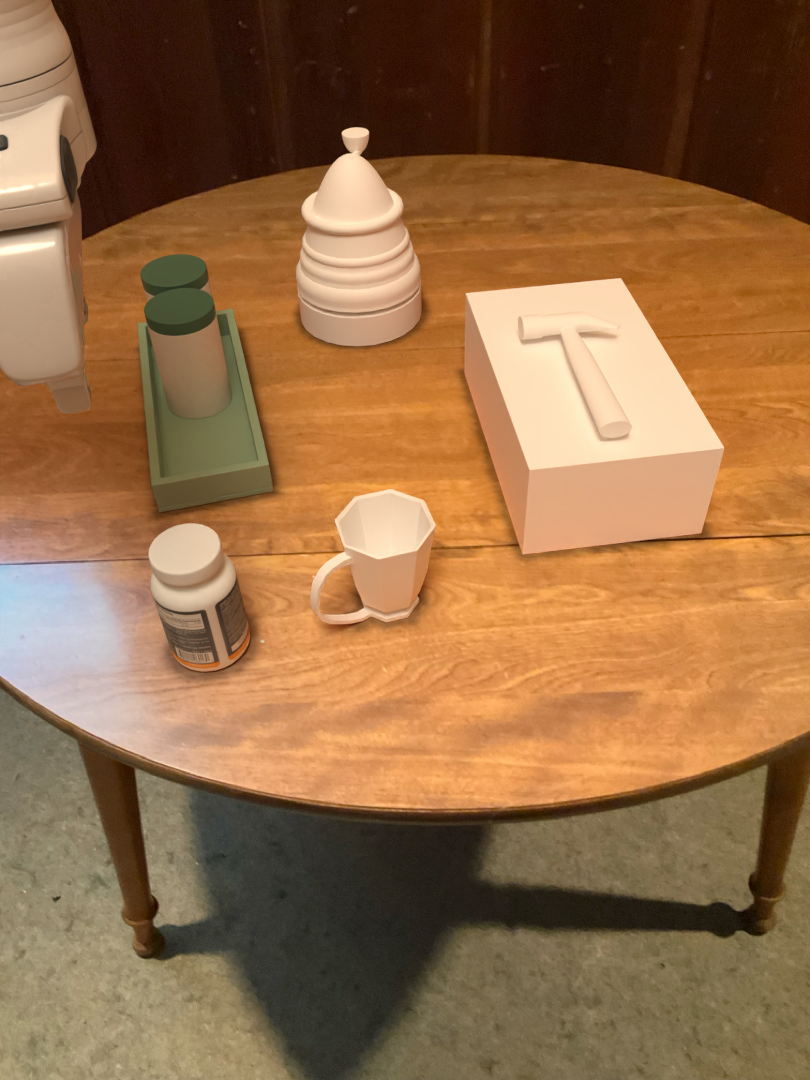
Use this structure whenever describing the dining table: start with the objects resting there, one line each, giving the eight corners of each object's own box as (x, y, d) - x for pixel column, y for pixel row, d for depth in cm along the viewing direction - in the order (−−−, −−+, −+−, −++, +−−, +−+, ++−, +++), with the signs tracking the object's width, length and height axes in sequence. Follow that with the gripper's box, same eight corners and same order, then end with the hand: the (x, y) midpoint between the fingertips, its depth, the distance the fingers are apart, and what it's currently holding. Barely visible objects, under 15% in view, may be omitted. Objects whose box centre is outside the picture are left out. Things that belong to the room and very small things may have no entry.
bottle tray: (273, 491, 78) (269, 464, 76) (159, 512, 77) (151, 485, 75) (237, 333, 96) (232, 307, 94) (143, 348, 94) (136, 322, 92)
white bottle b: (165, 384, 89) (141, 290, 82) (161, 350, 93) (138, 259, 86) (227, 373, 90) (209, 280, 83) (221, 341, 94) (203, 249, 87)
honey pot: (324, 276, 104) (307, 110, 91) (435, 289, 101) (433, 120, 88) (282, 337, 95) (257, 163, 83) (402, 353, 92) (395, 175, 80)
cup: (456, 604, 69) (457, 525, 63) (347, 674, 64) (338, 596, 59) (397, 552, 73) (393, 474, 67) (291, 615, 68) (277, 537, 63)
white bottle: (170, 424, 84) (145, 328, 77) (165, 387, 89) (142, 293, 82) (235, 412, 85) (217, 317, 78) (228, 376, 90) (210, 283, 83)
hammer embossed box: (609, 357, 91) (624, 254, 83) (701, 533, 73) (731, 422, 65) (464, 373, 90) (466, 269, 82) (522, 554, 72) (531, 444, 64)
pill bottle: (224, 601, 69) (200, 504, 62) (266, 647, 66) (246, 549, 59) (157, 640, 67) (124, 543, 60) (197, 689, 64) (167, 593, 57)
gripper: (-51, 64, 52) (26, 284, 62) (-94, 221, 38) (15, 475, 48) (63, 51, 53) (122, 270, 63) (62, 200, 39) (138, 453, 49)
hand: (76, 360), depth 55 cm, fingers open, 8 cm apart
